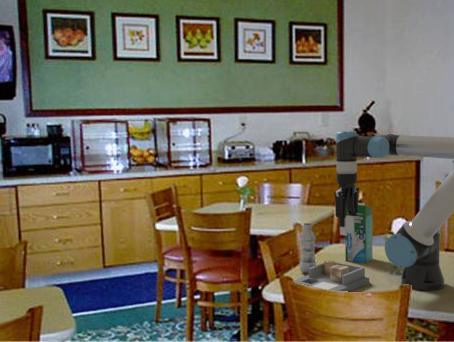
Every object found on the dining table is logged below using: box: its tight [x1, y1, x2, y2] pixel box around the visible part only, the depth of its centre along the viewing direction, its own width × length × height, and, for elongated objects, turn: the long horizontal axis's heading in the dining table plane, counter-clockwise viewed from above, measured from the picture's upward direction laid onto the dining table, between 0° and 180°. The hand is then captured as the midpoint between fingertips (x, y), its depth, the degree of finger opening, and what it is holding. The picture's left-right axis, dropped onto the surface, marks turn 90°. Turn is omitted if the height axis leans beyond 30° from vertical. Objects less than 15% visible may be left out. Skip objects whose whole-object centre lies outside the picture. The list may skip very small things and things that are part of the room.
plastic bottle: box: [298, 222, 317, 274], centre depth 234 cm, size 6×7×20 cm
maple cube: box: [330, 265, 349, 283], centre depth 217 cm, size 5×5×5 cm
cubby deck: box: [293, 261, 370, 292], centre depth 218 cm, size 20×22×6 cm
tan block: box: [324, 260, 336, 276], centre depth 225 cm, size 4×4×5 cm
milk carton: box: [344, 202, 373, 264], centre depth 252 cm, size 9×9×25 cm
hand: (347, 233), depth 220 cm, fingers open, 4 cm apart
